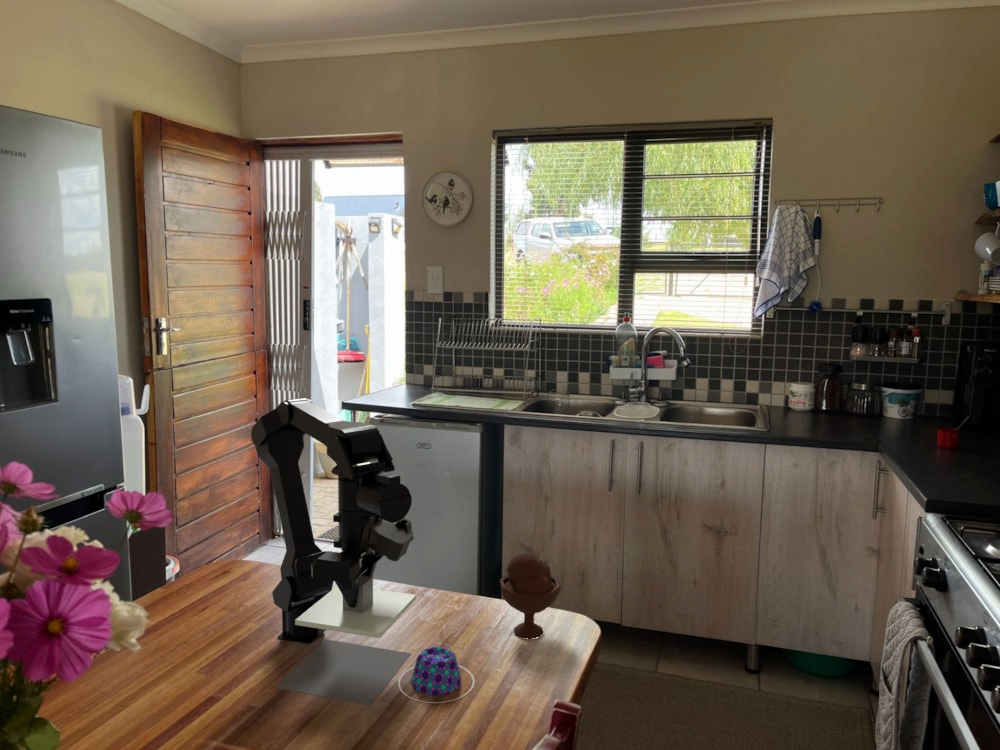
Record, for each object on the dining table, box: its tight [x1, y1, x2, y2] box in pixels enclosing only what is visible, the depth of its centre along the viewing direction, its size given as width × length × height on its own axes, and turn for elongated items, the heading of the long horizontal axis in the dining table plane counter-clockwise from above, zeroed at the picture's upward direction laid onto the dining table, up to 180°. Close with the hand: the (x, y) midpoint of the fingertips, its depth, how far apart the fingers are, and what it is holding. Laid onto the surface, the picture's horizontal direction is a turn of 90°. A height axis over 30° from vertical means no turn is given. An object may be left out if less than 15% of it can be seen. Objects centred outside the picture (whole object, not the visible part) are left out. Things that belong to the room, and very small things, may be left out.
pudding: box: [397, 646, 476, 704], centre depth 118 cm, size 12×12×5 cm
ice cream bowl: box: [499, 552, 562, 639], centre depth 135 cm, size 11×11×15 cm
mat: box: [274, 639, 412, 706], centre depth 121 cm, size 16×16×1 cm
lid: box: [295, 575, 417, 639], centre depth 119 cm, size 14×14×5 cm
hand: (358, 601), depth 119 cm, fingers closed on lid, 3 cm apart
